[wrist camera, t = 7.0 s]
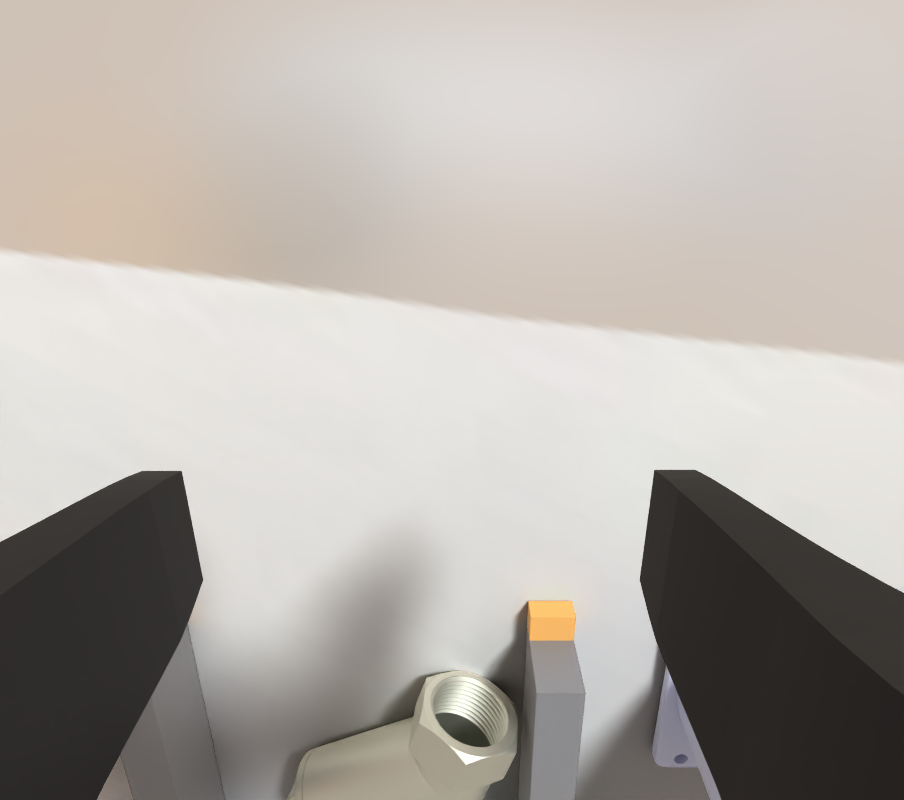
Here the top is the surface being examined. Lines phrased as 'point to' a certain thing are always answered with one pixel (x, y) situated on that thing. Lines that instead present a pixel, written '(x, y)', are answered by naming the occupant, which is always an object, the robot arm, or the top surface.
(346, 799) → the pipe fitting
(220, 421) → the top surface
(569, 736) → the bracket
